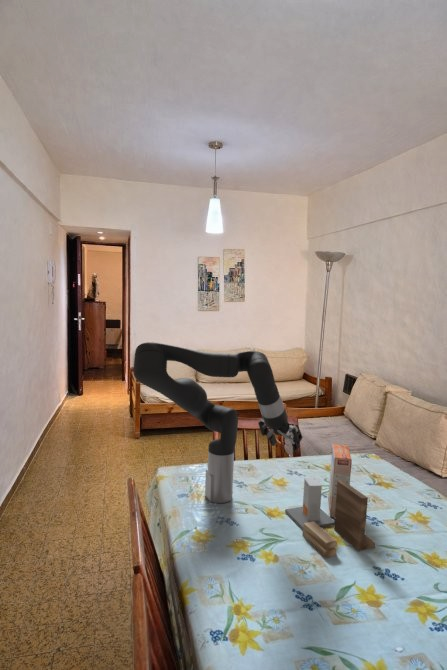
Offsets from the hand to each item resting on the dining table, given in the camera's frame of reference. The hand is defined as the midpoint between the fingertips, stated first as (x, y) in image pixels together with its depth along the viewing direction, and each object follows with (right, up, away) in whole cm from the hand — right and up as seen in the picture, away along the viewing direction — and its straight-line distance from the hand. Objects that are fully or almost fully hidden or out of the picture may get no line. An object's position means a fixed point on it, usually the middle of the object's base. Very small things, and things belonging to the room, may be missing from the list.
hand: (285, 446), depth 141 cm
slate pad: (+8, -24, +1) cm, 25 cm away
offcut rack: (+14, -25, -12) cm, 31 cm away
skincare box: (+8, -23, 0) cm, 25 cm away
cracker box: (+19, -24, +8) cm, 32 cm away
